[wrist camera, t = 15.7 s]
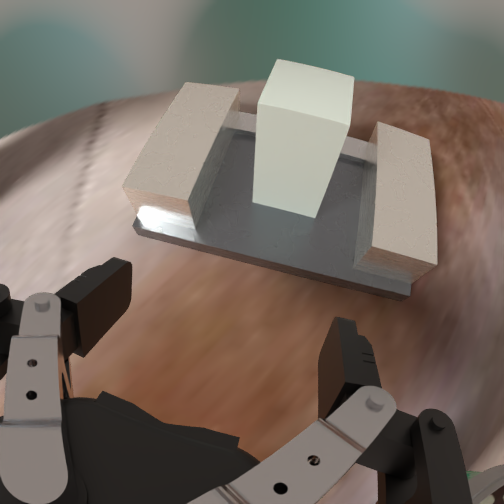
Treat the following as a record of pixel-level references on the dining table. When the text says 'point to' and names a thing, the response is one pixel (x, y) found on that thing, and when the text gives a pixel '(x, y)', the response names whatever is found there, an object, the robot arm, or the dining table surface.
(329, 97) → the block
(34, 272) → the dining table surface
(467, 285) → the dining table surface
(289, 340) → the dining table surface
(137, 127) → the dining table surface
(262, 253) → the rail plate
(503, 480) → the food container
